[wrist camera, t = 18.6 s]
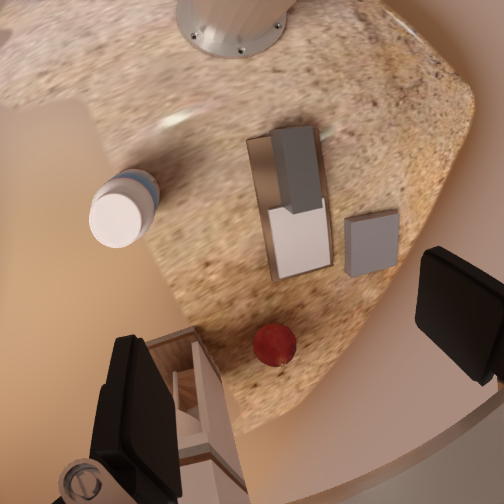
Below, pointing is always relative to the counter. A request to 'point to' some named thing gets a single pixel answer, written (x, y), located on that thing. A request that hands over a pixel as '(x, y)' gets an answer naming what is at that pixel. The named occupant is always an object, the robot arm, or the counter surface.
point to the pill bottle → (124, 208)
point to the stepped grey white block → (298, 203)
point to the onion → (274, 345)
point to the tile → (371, 242)
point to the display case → (200, 421)
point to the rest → (278, 194)
